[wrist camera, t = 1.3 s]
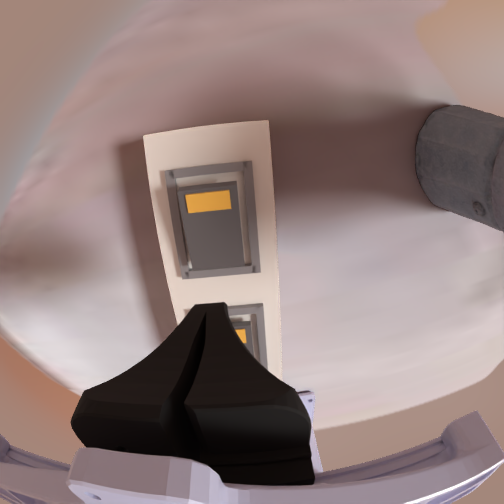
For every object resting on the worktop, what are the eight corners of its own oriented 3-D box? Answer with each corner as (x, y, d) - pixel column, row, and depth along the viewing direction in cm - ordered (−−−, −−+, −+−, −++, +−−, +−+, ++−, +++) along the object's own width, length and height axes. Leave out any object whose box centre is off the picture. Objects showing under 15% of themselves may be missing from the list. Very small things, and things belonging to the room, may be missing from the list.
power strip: (278, 366, 26) (283, 393, 22) (200, 372, 25) (197, 400, 22) (263, 122, 18) (269, 119, 15) (156, 135, 18) (140, 135, 15)
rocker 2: (256, 379, 20) (257, 385, 20) (215, 382, 20) (214, 388, 20) (250, 320, 19) (251, 325, 19) (205, 324, 19) (203, 329, 19)
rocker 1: (244, 259, 18) (245, 266, 17) (193, 263, 18) (192, 271, 17) (236, 180, 15) (237, 185, 15) (179, 187, 15) (176, 192, 14)
